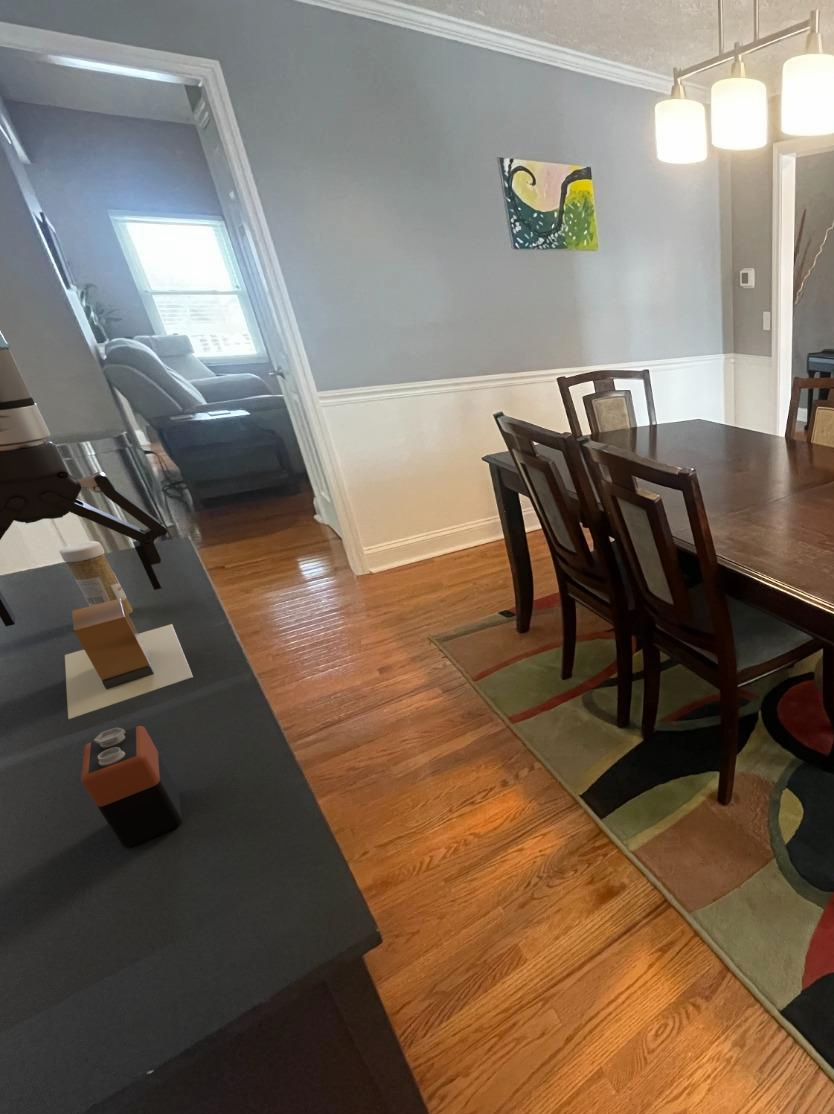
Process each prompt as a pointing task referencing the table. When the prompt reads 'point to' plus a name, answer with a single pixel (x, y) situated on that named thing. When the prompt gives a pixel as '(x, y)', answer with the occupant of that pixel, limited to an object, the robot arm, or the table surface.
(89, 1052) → the table surface
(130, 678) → the eraser
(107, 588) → the sprinkles bottle
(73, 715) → the board
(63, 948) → the table surface
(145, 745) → the battery
